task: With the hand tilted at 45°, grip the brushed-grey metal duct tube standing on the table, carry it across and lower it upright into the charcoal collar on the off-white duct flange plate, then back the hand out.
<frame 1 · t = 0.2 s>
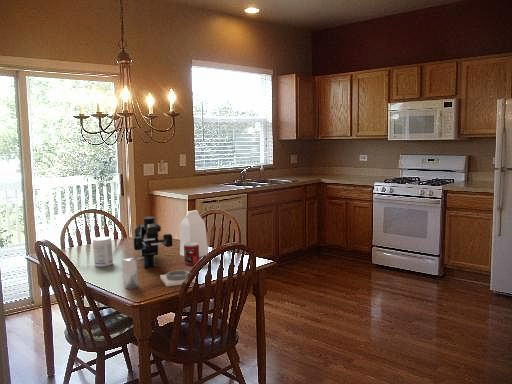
hand: (156, 246, 225), 17 cm above the table, tool horizontal, fingers open, 9 cm apart
flange plate: (177, 280, 226), on the table
supplement tub: (103, 265, 255), on the table
canned food: (191, 263, 254), on the table
milk: (194, 255, 272), on the table
duct tube: (131, 286, 217), on the table
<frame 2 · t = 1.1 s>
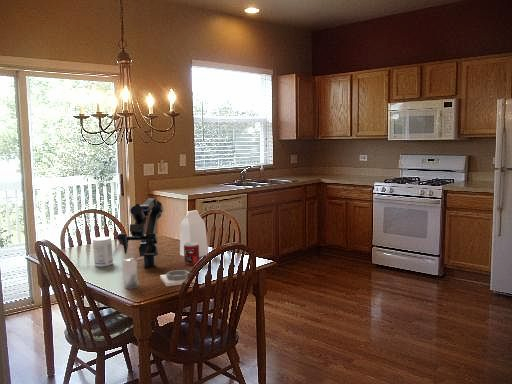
hand: (134, 253, 224), 14 cm above the table, tool tilted 45°, fingers open, 9 cm apart
nothing on the table moved.
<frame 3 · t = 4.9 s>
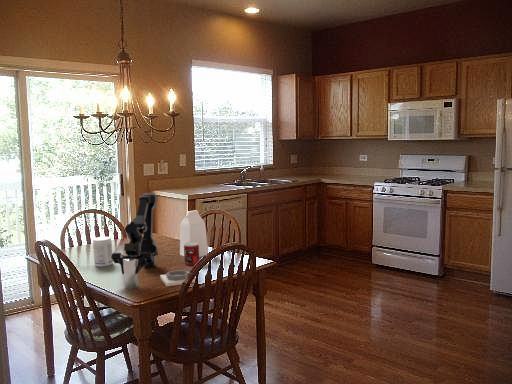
hand: (129, 274, 215), 7 cm above the table, tool tilted 45°, fingers closed on duct tube, 6 cm apart
duct tube: (131, 286, 217), on the table, touching gripper
everything else where it was.
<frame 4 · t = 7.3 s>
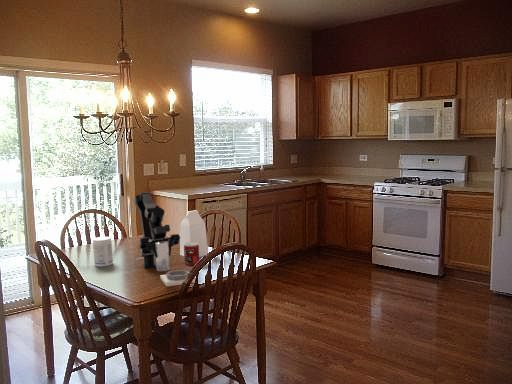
hand: (163, 256, 219), 13 cm above the table, tool tilted 45°, fingers closed on duct tube, 6 cm apart
duct tube: (163, 269, 221), point 7 cm above the table, touching gripper
everything else where it was.
when the fingers open (9 cm above the table, at t = 9.7 s): duct tube drops 1 cm, resting on flange plate.
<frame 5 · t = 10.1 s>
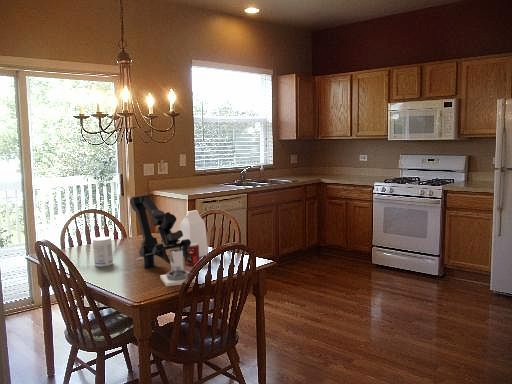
hand: (178, 261, 224), 10 cm above the table, tool tilted 45°, fingers open, 9 cm apart
duct tube: (177, 277, 226), point 2 cm above the table, touching flange plate
everything else where it was.
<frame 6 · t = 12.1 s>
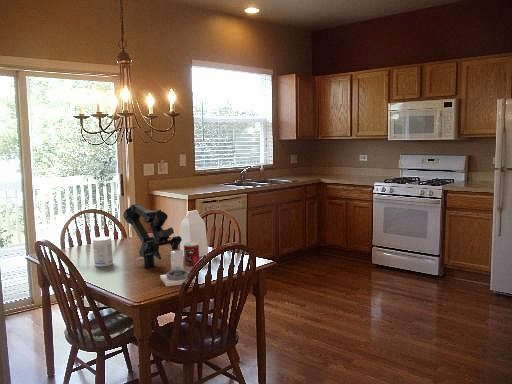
hand: (169, 257, 231), 9 cm above the table, tool tilted 45°, fingers open, 9 cm apart
nothing on the table moved.
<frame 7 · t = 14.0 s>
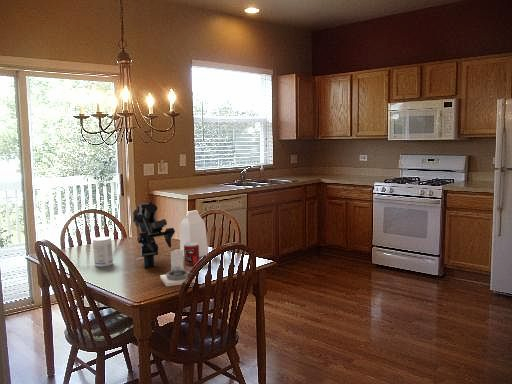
hand: (162, 248, 232), 14 cm above the table, tool tilted 45°, fingers open, 9 cm apart
nothing on the table moved.
at the end: duct tube 0.0 cm off-centre on the flange plate, point 1.5 cm above the flange plate's base; duct tube tilted 0°; the gripper is holding nothing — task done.
